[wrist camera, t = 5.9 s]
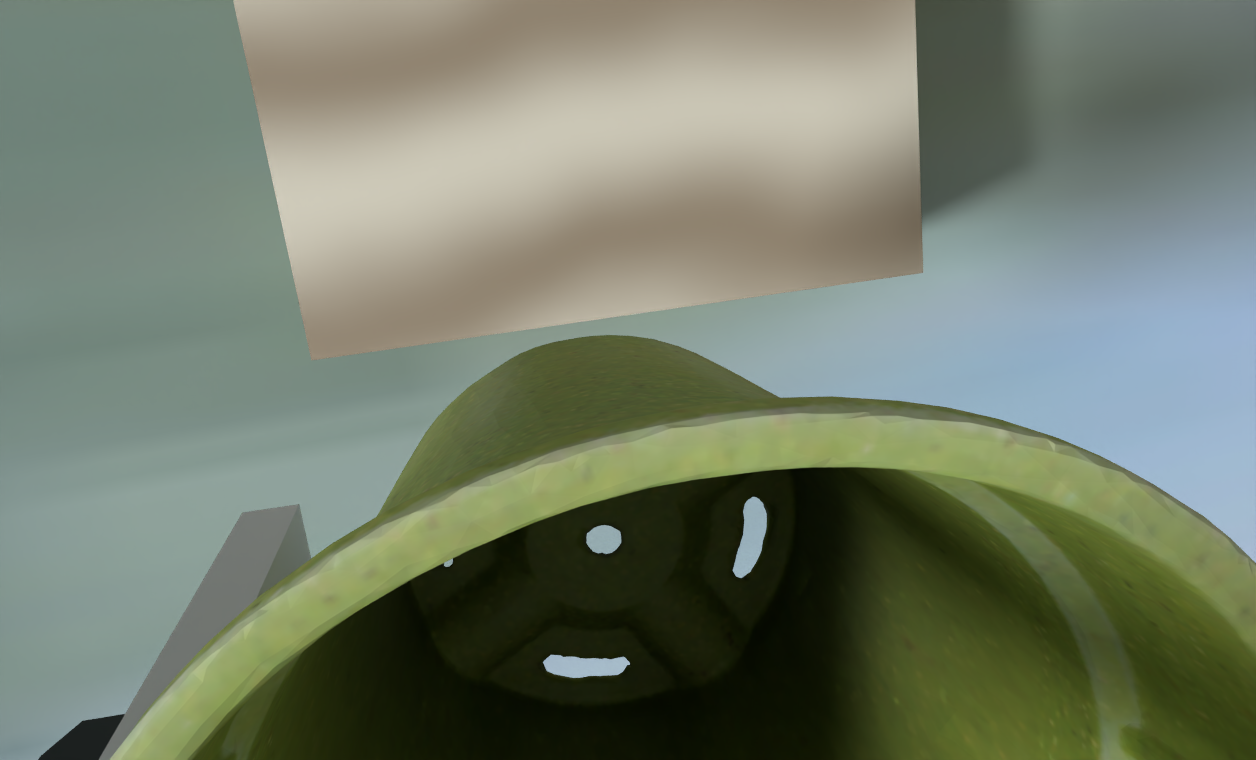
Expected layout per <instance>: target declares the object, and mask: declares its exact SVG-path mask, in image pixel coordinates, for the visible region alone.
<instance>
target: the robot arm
mask: <svg viewBox="0 0 1256 760" xmlns="http://www.w3.org/2000/svg"><path fill="white" fill-rule="evenodd" d="M310 559H311V556H310V552H309V547H308V542H307V538H306V533H305V529H304V524H303V520H302V515H301V511H300V506H299V504H298V505H291V506H284V507H277V508H270V509H263V510H257V511H250V512H243V513H242V514H241V516H240V518H239V519H238V521H237V523H236V524H235V526H234V528H233V530H232V531H231V533H230V535H229V536H228V538H227V540H226V542H225V543H224V545H223V547H222V549H221V550H220V552H219V554H218V555H217V557H216V559H215V561H214V562H213V564H212V566H211V567H210V569H209V571H208V573H207V574H206V576H205V578H204V579H203V581H202V583H201V585H200V586H199V588H198V590H197V591H196V593H195V595H194V597H193V598H192V600H191V602H190V603H189V605H188V607H187V609H186V610H185V612H184V614H183V616H182V617H181V619H180V621H179V622H178V624H177V626H176V628H175V629H174V631H173V633H172V634H171V636H170V638H169V640H168V641H167V643H166V645H165V646H164V648H163V650H162V652H161V653H160V655H159V657H158V658H157V660H156V662H155V664H154V665H153V667H152V669H151V671H150V672H149V674H148V676H147V677H146V679H145V681H144V683H143V684H142V686H141V688H140V689H139V691H138V693H137V695H136V696H135V698H134V700H133V701H132V703H131V705H130V707H129V708H128V710H127V712H126V713H125V714H122V715H116V716H110V717H104V718H98V719H92V720H85V721H82V722H81V723H79V724H78V725H77V726H76V727H75V728H74V729H72V730H71V731H70V732H69V733H68V734H66V735H65V736H64V737H63V738H62V739H60V740H59V741H58V742H57V743H56V744H55V745H53V746H52V747H51V748H50V749H49V750H47V751H46V752H45V753H44V754H43V755H41V757H40V758H39V759H38V760H109V759H110V758H111V757H112V756H113V754H114V753H115V752H116V751H117V749H118V748H119V747H120V746H121V744H122V743H123V742H124V740H125V739H126V738H127V736H128V735H129V733H130V732H131V731H132V729H133V728H134V726H135V725H136V724H137V722H138V721H139V719H140V718H141V717H142V715H143V714H144V713H145V711H146V710H147V709H148V708H149V707H150V706H151V704H152V703H153V702H154V701H155V700H156V699H157V697H158V696H159V695H160V694H161V693H162V692H163V691H164V689H165V688H166V687H167V686H168V685H169V684H170V682H171V681H172V680H173V679H174V678H175V677H176V675H177V674H178V673H179V672H180V671H181V670H182V669H183V668H184V667H185V666H186V665H187V664H188V663H189V662H190V661H191V660H192V659H193V658H194V656H195V655H196V654H197V653H198V652H199V651H200V650H201V649H202V648H203V647H204V646H205V645H206V644H207V643H208V642H209V641H210V640H211V639H212V638H213V637H214V636H216V635H217V634H218V633H219V632H220V631H221V630H222V629H223V628H224V627H226V626H227V625H228V624H229V623H230V622H231V621H232V620H233V619H234V618H236V617H237V616H238V615H239V614H240V613H241V612H242V611H243V610H244V609H246V608H247V607H248V606H249V605H250V604H251V603H252V602H253V601H254V600H256V599H257V598H258V597H259V596H260V595H261V594H263V593H264V592H266V591H267V590H268V589H270V588H271V587H273V586H274V585H275V584H277V583H278V582H279V581H281V580H282V579H284V578H285V577H286V576H288V575H289V574H291V573H292V572H293V571H295V570H296V569H298V568H299V567H300V566H302V565H303V564H304V563H306V562H307V561H309V560H310Z"/></svg>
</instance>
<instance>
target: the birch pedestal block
mask: <svg viewBox="0 0 1256 760" xmlns="http://www.w3.org/2000/svg"><path fill="white" fill-rule="evenodd" d="M233 1H234V6H235V10H236V15H237V19H238V24H239V29H240V33H241V38H242V42H243V47H244V52H245V56H246V61H247V65H248V70H249V75H250V79H251V84H252V88H253V93H254V98H255V102H256V107H257V111H258V116H259V121H260V125H261V130H262V134H263V139H264V144H265V148H266V153H267V157H268V162H269V167H270V171H271V176H272V180H273V185H274V190H275V194H276V199H277V203H278V208H279V213H280V217H281V222H282V226H283V231H284V236H285V240H286V245H287V249H288V254H289V259H290V263H291V268H292V272H293V277H294V282H295V286H296V291H297V295H298V300H299V305H300V309H301V314H302V318H303V323H304V328H305V332H306V337H307V341H308V346H309V351H310V355H311V360H318V359H325V358H331V357H338V356H345V355H352V354H359V353H366V352H373V351H380V350H387V349H394V348H401V347H408V346H415V345H422V344H429V343H436V342H443V341H450V340H457V339H464V338H471V337H478V336H485V335H492V334H499V333H506V332H513V331H520V330H527V329H534V328H541V327H548V326H555V325H562V324H569V323H576V322H583V321H590V320H597V319H604V318H611V317H618V316H625V315H632V314H639V313H646V312H653V311H660V310H667V309H673V308H680V307H687V306H694V305H701V304H708V303H715V302H722V301H729V300H736V299H743V298H750V297H757V296H764V295H771V294H778V293H785V292H792V291H799V290H806V289H813V288H820V287H827V286H834V285H841V284H848V283H855V282H862V281H869V280H876V279H883V278H890V277H897V276H904V275H911V274H918V273H923V252H922V218H921V185H920V151H919V118H918V84H917V51H916V17H915V0H233Z"/></svg>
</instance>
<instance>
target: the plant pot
mask: <svg viewBox="0 0 1256 760" xmlns="http://www.w3.org/2000/svg"><path fill="white" fill-rule="evenodd" d="M751 497H757V498H759V499H760V500H761V501H762V502H763V504H764V508H765V510H766V513H767V529H766V533H765V537H764V540H763V546H762V551H761V554H760V556H759V558H758V560H757V562H756V564H755V565H754V567H753V569H752V570H751V572H750V573H748V574H747V575H745V576H744V577H743V578H738V577H736V576H735V574H734V572H733V571H732V570H733V567H734V563H735V559H736V555H737V551H738V548H739V546H740V542H741V539H742V536H743V528H744V515H743V509H744V505H745V503H746V501H747V500H748V499H750V498H751ZM600 525H609V526H612V527H614V528H616V529H617V530H619V531H620V532H621V541H622V542H621V544H620V546H619V547H618V548H617V549H616V550H615V551H614V552H613V553H609V554H604V553H599V554H598V553H595V552H593V551H592V550H591V549H590V548H589V547H588V545H587V543H586V536H587V533H588V532H589V531H591V530H592V529H593V528H594V527H597V526H600ZM452 558H453V564H452V565H451V566H450V567H445V566H444V562H446V561H448V560H450V559H452ZM550 655H561V656H563V657H566V656H574V657H579V658H599V659H603V658H607V659H614V658H618V657H623V656H624V657H625V658H626V659H627V660H628V661H629V662H630V665H627V666H626V668H625V670H624V671H623V672H622V673H620V674H619V675H612V676H588V677H583V678H570V677H565V676H560V675H555V674H552V673H550V672H547V671H546V669H545V666H544V664H543V661H544V660H545V659H546V658H547V657H549V656H550ZM109 760H1256V563H1255V562H1254V561H1253V560H1252V559H1251V558H1250V557H1249V556H1248V555H1247V554H1246V553H1245V552H1244V551H1243V550H1242V549H1241V548H1240V547H1239V546H1238V545H1237V544H1236V543H1235V542H1234V541H1233V540H1232V539H1231V538H1229V537H1228V536H1227V535H1226V534H1224V533H1223V532H1222V531H1221V530H1220V529H1218V528H1217V527H1216V526H1215V525H1213V524H1212V523H1211V522H1210V521H1209V520H1207V519H1206V518H1205V517H1204V516H1202V515H1201V514H1199V513H1197V512H1196V511H1194V510H1193V509H1191V508H1190V507H1188V506H1186V505H1185V504H1183V503H1182V502H1180V501H1178V500H1177V499H1175V498H1174V497H1172V496H1171V495H1169V494H1168V493H1166V492H1164V491H1163V490H1161V489H1160V488H1158V487H1157V486H1155V485H1154V484H1152V483H1150V482H1148V481H1147V480H1145V479H1143V478H1141V477H1139V476H1137V475H1136V474H1134V473H1132V472H1130V471H1128V470H1126V469H1124V468H1123V467H1121V466H1119V465H1117V464H1115V463H1113V462H1111V461H1109V460H1107V459H1105V458H1103V457H1101V456H1099V455H1097V454H1094V453H1092V452H1090V451H1087V450H1085V449H1082V448H1080V447H1078V446H1075V445H1073V444H1071V443H1068V442H1066V441H1064V440H1061V439H1059V438H1056V437H1053V436H1050V435H1047V434H1044V433H1040V432H1037V431H1034V430H1031V429H1028V428H1025V427H1022V426H1019V425H1015V424H1012V423H1009V422H1006V421H1003V420H1000V419H996V418H991V417H987V416H983V415H978V414H974V413H970V412H965V411H961V410H956V409H952V408H947V407H940V406H932V405H925V404H918V403H910V402H903V401H892V400H877V399H861V398H845V397H797V398H779V397H778V396H776V395H774V394H772V393H770V392H768V391H766V390H764V389H763V388H761V387H759V386H757V385H755V384H754V383H752V382H750V381H748V380H746V379H745V378H743V377H741V376H739V375H737V374H735V373H733V372H732V371H730V370H728V369H726V368H724V367H722V366H720V365H718V364H716V363H714V362H712V361H710V360H708V359H706V358H704V357H702V356H700V355H698V354H696V353H694V352H691V351H689V350H686V349H684V348H681V347H679V346H675V345H672V344H668V343H665V342H661V341H658V340H654V339H648V338H641V337H634V336H617V335H604V336H589V337H581V338H574V339H569V340H564V341H558V342H553V343H549V344H546V345H542V346H539V347H535V348H533V349H531V350H528V351H526V352H523V353H521V354H519V355H517V356H515V357H514V358H512V359H510V360H508V361H507V362H505V363H504V364H502V365H501V366H499V367H497V368H496V369H494V370H493V371H491V372H490V373H488V374H487V375H485V376H484V377H482V378H481V379H480V380H478V381H477V382H475V383H474V384H472V385H471V386H470V387H468V388H467V389H466V390H465V391H464V392H463V393H462V394H461V395H459V396H458V397H457V398H456V399H455V400H454V401H453V402H452V403H451V404H450V405H449V406H448V407H447V408H446V409H445V410H444V411H443V412H442V413H441V414H440V415H439V416H438V417H437V418H436V420H435V421H434V422H433V424H432V425H431V426H430V428H429V429H428V430H427V432H426V433H425V435H424V436H423V438H422V440H421V441H420V443H419V445H418V446H417V448H416V450H415V451H414V453H413V454H412V456H411V458H410V459H409V461H408V463H407V464H406V466H405V468H404V470H403V471H402V473H401V475H400V477H399V478H398V480H397V482H396V484H395V486H394V487H393V489H392V491H391V493H390V494H389V496H388V498H387V500H386V502H385V503H384V505H383V507H382V509H381V510H380V512H379V514H378V515H377V517H376V518H374V519H372V520H371V521H369V522H367V523H366V524H364V525H362V526H361V527H359V528H357V529H356V530H354V531H352V532H351V533H349V534H347V535H346V536H344V537H342V538H341V539H339V540H337V541H336V542H334V543H332V544H331V545H329V546H328V547H327V548H325V549H324V550H323V551H321V552H320V553H318V554H317V555H316V556H314V557H313V558H311V559H310V560H309V561H307V562H306V563H304V564H303V565H302V566H300V567H299V568H298V569H296V570H295V571H293V572H292V573H291V574H289V575H288V576H286V577H285V578H284V579H282V580H281V581H279V582H278V583H277V584H275V585H274V586H273V587H271V588H270V589H268V590H267V591H266V592H264V593H263V594H261V595H260V596H259V597H258V598H257V599H256V600H254V601H253V602H252V603H251V604H250V605H249V606H248V607H247V608H246V609H244V610H243V611H242V612H241V613H240V614H239V615H238V616H237V617H236V618H234V619H233V620H232V621H231V622H230V623H229V624H228V625H227V626H226V627H224V628H223V629H222V630H221V631H220V632H219V633H218V634H217V635H216V636H214V637H213V638H212V639H211V640H210V641H209V642H208V643H207V644H206V645H205V646H204V647H203V648H202V649H201V650H200V651H199V652H198V653H197V654H196V655H195V656H194V658H193V659H192V660H191V661H190V662H189V663H188V664H187V665H186V666H185V667H184V668H183V669H182V670H181V671H180V672H179V673H178V674H177V675H176V677H175V678H174V679H173V680H172V681H171V682H170V684H169V685H168V686H167V687H166V688H165V689H164V691H163V692H162V693H161V694H160V695H159V696H158V697H157V699H156V700H155V701H154V702H153V703H152V704H151V706H150V707H149V708H148V709H147V710H146V711H145V713H144V714H143V715H142V717H141V718H140V719H139V721H138V722H137V724H136V725H135V726H134V728H133V729H132V731H131V732H130V733H129V735H128V736H127V738H126V739H125V740H124V742H123V743H122V744H121V746H120V747H119V748H118V749H117V751H116V752H115V753H114V754H113V756H112V757H111V758H110V759H109Z"/></svg>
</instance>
